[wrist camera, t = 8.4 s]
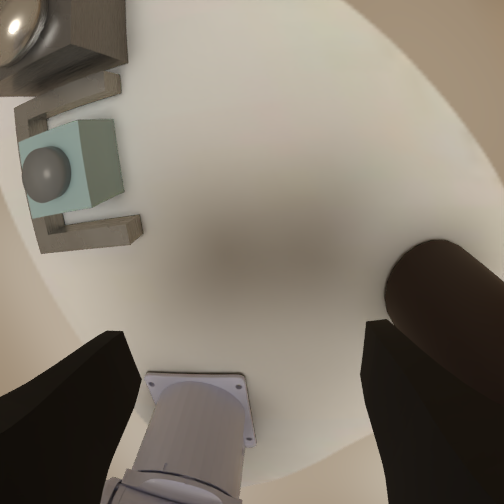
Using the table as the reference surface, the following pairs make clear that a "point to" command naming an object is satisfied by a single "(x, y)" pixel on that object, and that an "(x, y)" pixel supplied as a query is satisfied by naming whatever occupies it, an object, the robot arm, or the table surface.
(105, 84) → the motor mount
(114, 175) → the pale blue block
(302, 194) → the table surface
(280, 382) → the table surface
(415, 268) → the bottle
